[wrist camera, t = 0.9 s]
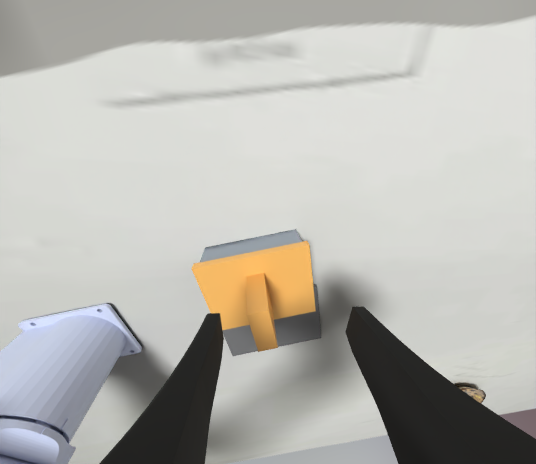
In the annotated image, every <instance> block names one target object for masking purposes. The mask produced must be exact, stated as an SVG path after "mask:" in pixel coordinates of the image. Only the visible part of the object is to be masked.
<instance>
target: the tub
mask: <svg viewBox="0 0 536 464" xmlns="http://www.w3.org/2000/svg"><path fill="white" fill-rule="evenodd" d="M299 242H302V240H301V238H300V236H299V234H298V232H297V231H296V229H295V230H290V231H285V232H280V233H275V234H271V235H266V236H261V237H256V238H251V239H246V240H241V241H236V242H231V243H226V244H221V245H216V246H211V247H206V248H205V250H204V252H203V255H202V258H201V261H200V262H205V261H210V260H215V259H220V258H225V257H230V256H235V255H240V254H244V253H249V252H254V251H259V250H264V249H269V248H274V247H279V246H284V245H289V244H294V243H299Z"/></svg>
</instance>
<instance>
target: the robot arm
mask: <svg viewBox="0 0 536 464" xmlns="http://www.w3.org/2000/svg"><path fill="white" fill-rule="evenodd" d="M18 326H19V327H20V328H21V329H22V330H23V332H22V333H21V334H19V335H18V336H17V337H16V338H15V339H14V340H13V341H11V342H10V343H9V344H8V345H7V346H6V347H5V348H3V349H2V350H1V351H0V464H68V462H69V460H70V458H71V457H72V455H73V453H74V451H75V449H76V447H74V446H71V445H70V444H69V443H70V441H71V439H72V438H73V436H74V434H75V432H76V431H77V429H78V427H79V426H80V424H81V422H82V420H83V419H84V417H85V415H86V413H87V412H88V410H89V408H90V406H91V405H92V403H93V401H94V399H95V398H96V396H97V394H98V393H99V391H100V389H101V387H102V386H103V384H104V382H105V380H106V379H107V377H108V375H109V373H110V372H111V370H112V368H113V366H114V365H115V363H116V361H117V360H118V358H119V357H121V356H126V355H131V354H136V353H140V352H141V350H142V347H141V345H140V344H139V343H138V341H137V340H136V339H135V337H134V336H133V335H132V333H131V332H130V331H129V329H128V328H127V327H126V325H125V324H124V323H123V321H122V320H121V319H120V317H119V316H118V315H117V313H116V312H115V311H114V309H113V308H112V307H111V305H109V304H101V305H96V306H91V307H87V308H82V309H77V310H72V311H67V312H62V313H57V314H52V315H47V316H42V317H37V318H33V319H28V320H23V321H21V322H20V323H19V324H18ZM346 335H347V338H348V341H349V344H350V347H351V349H352V352H353V354H354V357H355V359H356V361H357V363H358V365H359V368H360V370H361V372H362V374H363V376H364V378H365V380H366V383H367V385H368V387H369V389H370V391H371V393H372V395H373V398H374V400H375V402H376V404H377V407H378V409H379V412H380V414H381V417H382V420H383V422H384V425H385V428H386V430H387V433H388V436H389V438H390V441H391V444H392V447H393V450H394V452H395V455H396V458H397V461H398V464H536V439H535V438H533V437H532V436H530V435H528V434H527V433H525V432H524V431H522V430H521V429H519V428H517V427H516V426H514V425H513V424H511V423H509V422H508V421H506V420H505V419H503V418H502V417H500V416H499V415H497V414H496V413H494V412H493V411H491V410H490V409H488V408H487V407H485V406H484V405H482V404H481V403H479V402H478V401H477V400H475V399H474V398H472V397H471V396H469V395H468V394H466V393H465V392H464V391H462V390H461V389H460V388H458V387H457V386H455V385H454V384H453V383H451V382H450V381H449V380H447V379H446V378H445V377H443V376H442V375H441V374H440V373H438V372H437V371H436V370H434V369H433V368H432V367H431V366H429V365H428V364H427V363H426V362H424V361H423V360H422V359H421V358H420V357H418V356H417V355H416V354H415V353H414V352H412V351H411V350H410V349H409V348H408V347H407V346H406V345H404V344H403V343H402V342H401V341H400V340H399V339H398V338H397V337H396V336H394V335H393V334H392V333H391V332H390V331H389V330H388V329H387V328H386V327H385V326H384V325H383V324H382V323H380V322H379V321H378V320H377V319H376V318H375V317H374V316H373V315H372V314H371V313H370V312H369V311H368V310H367V309H366V308H364V307H352V311H351V314H350V318H349V321H348V325H347V328H346ZM223 339H224V338H223V331H222V324H221V316H220V313H210V314H207V315H206V317H205V319H204V321H203V323H202V325H201V327H200V329H199V331H198V333H197V334H196V336H195V338H194V340H193V341H192V343H191V345H190V346H189V348H188V350H187V351H186V353H185V354H184V356H183V358H182V359H181V361H180V362H179V364H178V365H177V367H176V368H175V370H174V371H173V373H172V374H171V376H170V377H169V379H168V380H167V381H166V383H165V384H164V386H163V387H162V388H161V390H160V391H159V393H158V394H157V395H156V396H155V398H154V399H153V400H152V402H151V403H150V404H149V406H148V407H147V408H146V409H145V411H144V412H143V413H142V414H141V416H140V417H139V418H138V419H137V421H136V422H135V423H134V424H133V426H132V427H131V428H130V429H129V430H128V432H127V433H126V434H125V435H124V436H123V438H122V439H121V440H120V441H119V442H118V443H117V444H116V446H115V447H114V448H113V449H112V450H111V451H110V452H109V454H108V455H107V456H106V457H105V458H104V459H103V460H102V461H101V463H100V464H205V456H206V447H207V439H208V431H209V423H210V417H211V411H212V406H213V401H214V396H215V391H216V385H217V380H218V375H219V370H220V365H221V359H222V350H223Z"/></svg>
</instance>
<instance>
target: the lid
mask: <svg viewBox="0 0 536 464" xmlns="http://www.w3.org/2000/svg"><path fill="white" fill-rule="evenodd" d="M192 271H193V273H194V275H195V278H196V280H197V282H198V285H199V287H200V289H201V291H202V294H203V296H204V298H205V301H206V303H207V305H208V308H209V310H210V312H211V313H220V316H221V324H222V330H226V329H231V328H236V327H241V326H246V325H250V328H251V331H252V334H253V337H254V340H255V343H256V346H257V349H258V352H259V351H264V350H269V349H274V348H278V345H277V338H276V332H275V325H274V320H275V319H280V318H285V317H290V316H294V315H299V314H304V313H309V312H314V311H316V310H315V299H314V288H313V278H312V267H311V257H310V246H309V243H308V242H307V241H304V242H299V243H294V244H289V245H284V246H279V247H274V248H269V249H264V250H259V251H254V252H249V253H244V254H240V255H235V256H230V257H225V258H220V259H215V260H210V261H205V262H200V263H195V264H193V267H192Z"/></svg>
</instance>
